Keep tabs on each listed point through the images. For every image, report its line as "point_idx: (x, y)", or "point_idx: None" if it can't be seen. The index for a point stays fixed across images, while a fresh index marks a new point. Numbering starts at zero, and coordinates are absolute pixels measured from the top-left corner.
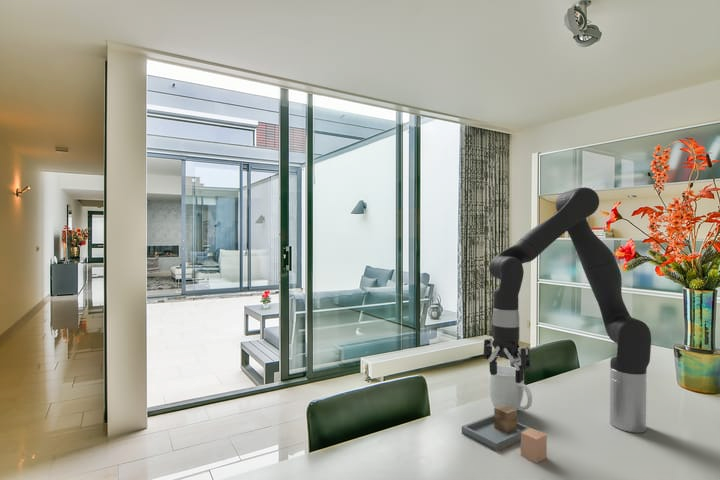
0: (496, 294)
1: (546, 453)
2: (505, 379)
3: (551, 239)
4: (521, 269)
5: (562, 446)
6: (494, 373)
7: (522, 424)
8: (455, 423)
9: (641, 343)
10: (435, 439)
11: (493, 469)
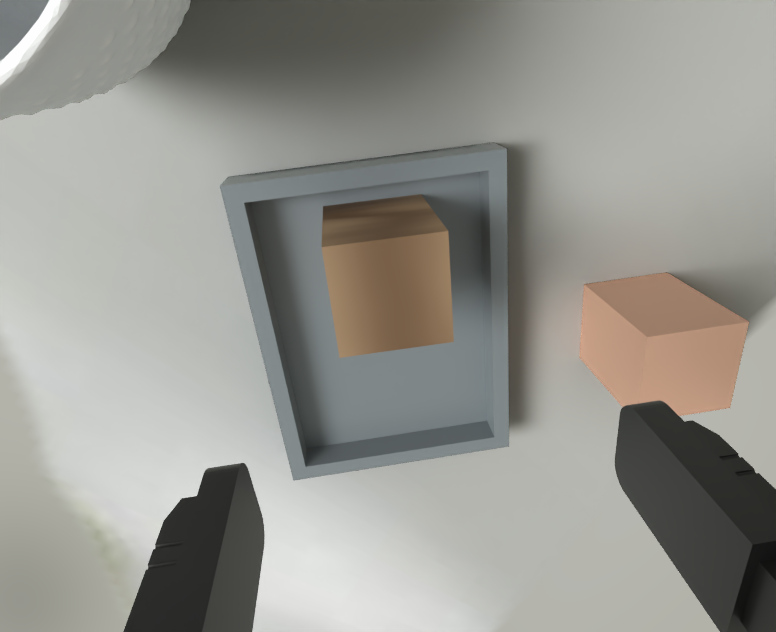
0: None
1: (678, 279)
2: (68, 57)
3: None
4: None
5: (676, 87)
6: (252, 511)
7: (440, 158)
8: (187, 424)
9: None
10: (297, 565)
11: (573, 506)
